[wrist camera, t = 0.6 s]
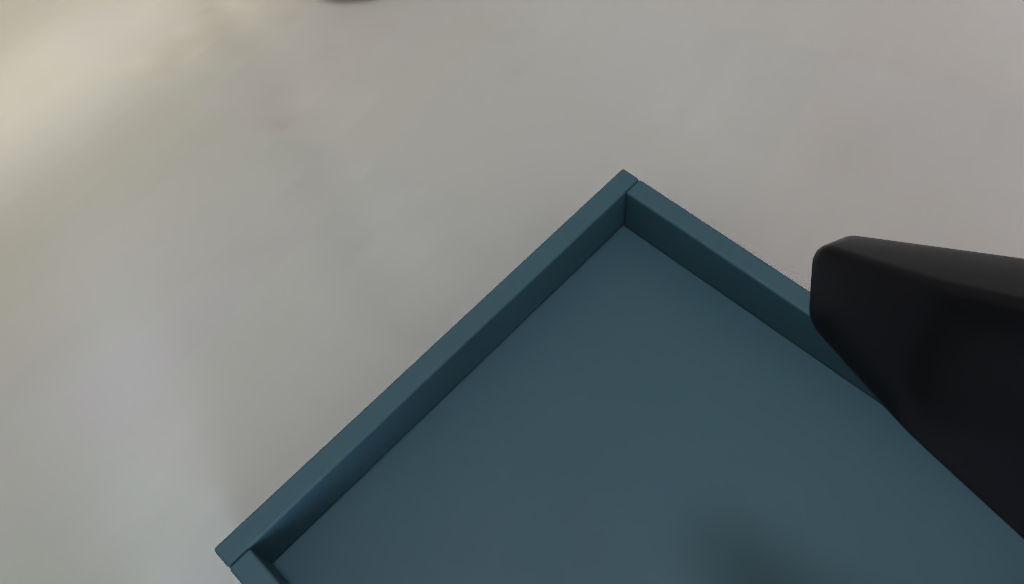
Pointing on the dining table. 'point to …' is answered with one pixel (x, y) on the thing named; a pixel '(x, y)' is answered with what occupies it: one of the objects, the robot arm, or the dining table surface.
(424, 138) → the dining table surface
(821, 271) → the robot arm
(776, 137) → the dining table surface
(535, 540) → the dark teal tray
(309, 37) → the dining table surface
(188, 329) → the dining table surface
